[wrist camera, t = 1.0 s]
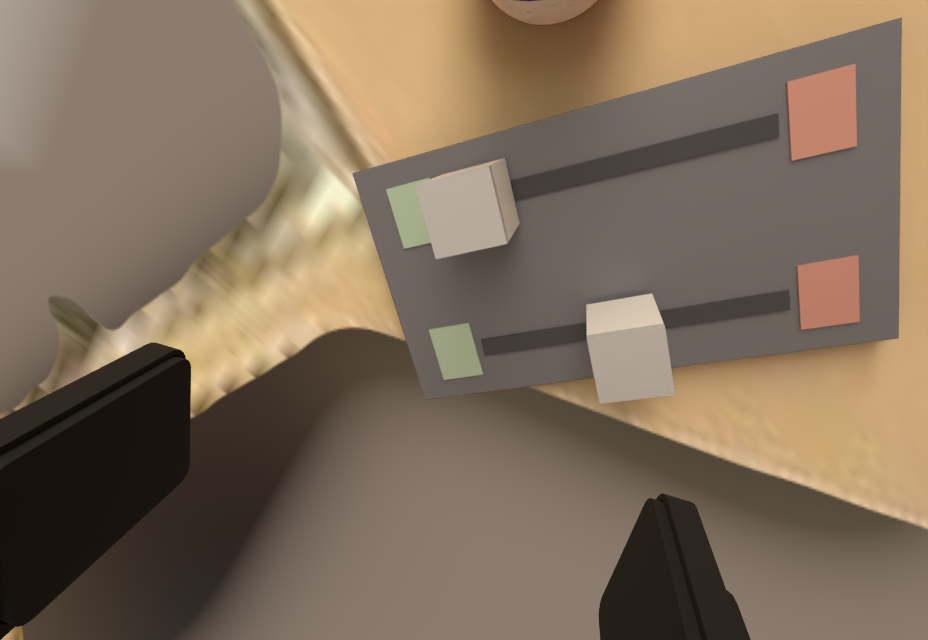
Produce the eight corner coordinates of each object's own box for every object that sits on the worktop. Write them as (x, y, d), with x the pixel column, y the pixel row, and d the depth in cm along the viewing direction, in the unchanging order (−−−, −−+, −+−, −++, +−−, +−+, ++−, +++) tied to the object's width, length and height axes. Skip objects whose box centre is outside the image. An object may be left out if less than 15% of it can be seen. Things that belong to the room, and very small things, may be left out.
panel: (879, 24, 26) (903, 16, 24) (880, 325, 31) (900, 339, 29) (364, 170, 35) (351, 173, 33) (432, 386, 40) (424, 401, 38)
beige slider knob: (652, 293, 31) (665, 327, 26) (660, 351, 32) (675, 395, 27) (586, 304, 32) (586, 339, 27) (597, 360, 34) (599, 403, 28)
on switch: (504, 157, 30) (488, 166, 25) (519, 223, 31) (507, 243, 26) (442, 174, 31) (414, 185, 26) (459, 237, 32) (435, 259, 27)
